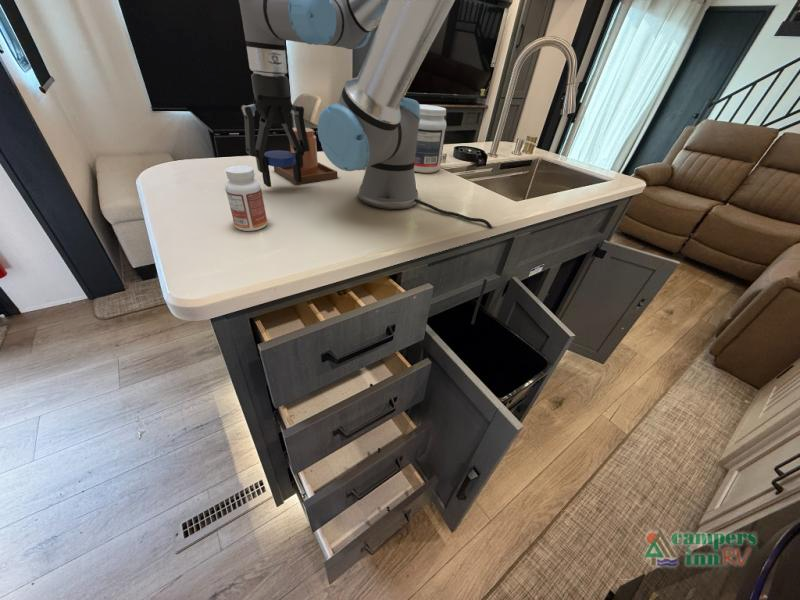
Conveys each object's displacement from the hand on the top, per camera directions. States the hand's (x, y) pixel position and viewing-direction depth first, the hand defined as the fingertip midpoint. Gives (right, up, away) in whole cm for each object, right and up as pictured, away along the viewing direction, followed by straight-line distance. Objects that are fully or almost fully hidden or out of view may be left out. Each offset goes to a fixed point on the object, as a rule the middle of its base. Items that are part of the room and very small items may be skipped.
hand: (283, 182), depth 82 cm
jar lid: (+1, +5, -4) cm, 6 cm away
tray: (+2, +7, +12) cm, 14 cm away
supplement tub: (+37, +15, +28) cm, 49 cm away
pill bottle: (-1, -15, -16) cm, 22 cm away
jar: (+2, +7, +12) cm, 14 cm away
